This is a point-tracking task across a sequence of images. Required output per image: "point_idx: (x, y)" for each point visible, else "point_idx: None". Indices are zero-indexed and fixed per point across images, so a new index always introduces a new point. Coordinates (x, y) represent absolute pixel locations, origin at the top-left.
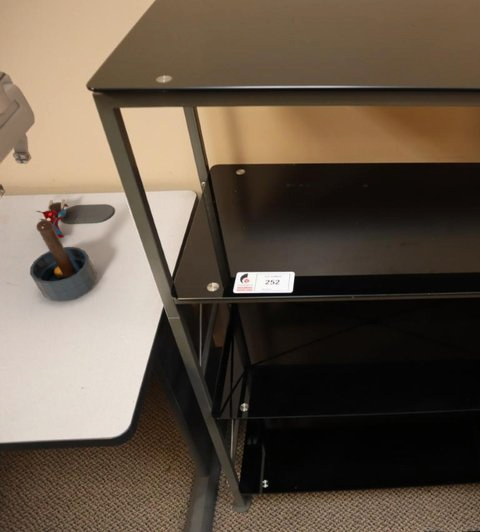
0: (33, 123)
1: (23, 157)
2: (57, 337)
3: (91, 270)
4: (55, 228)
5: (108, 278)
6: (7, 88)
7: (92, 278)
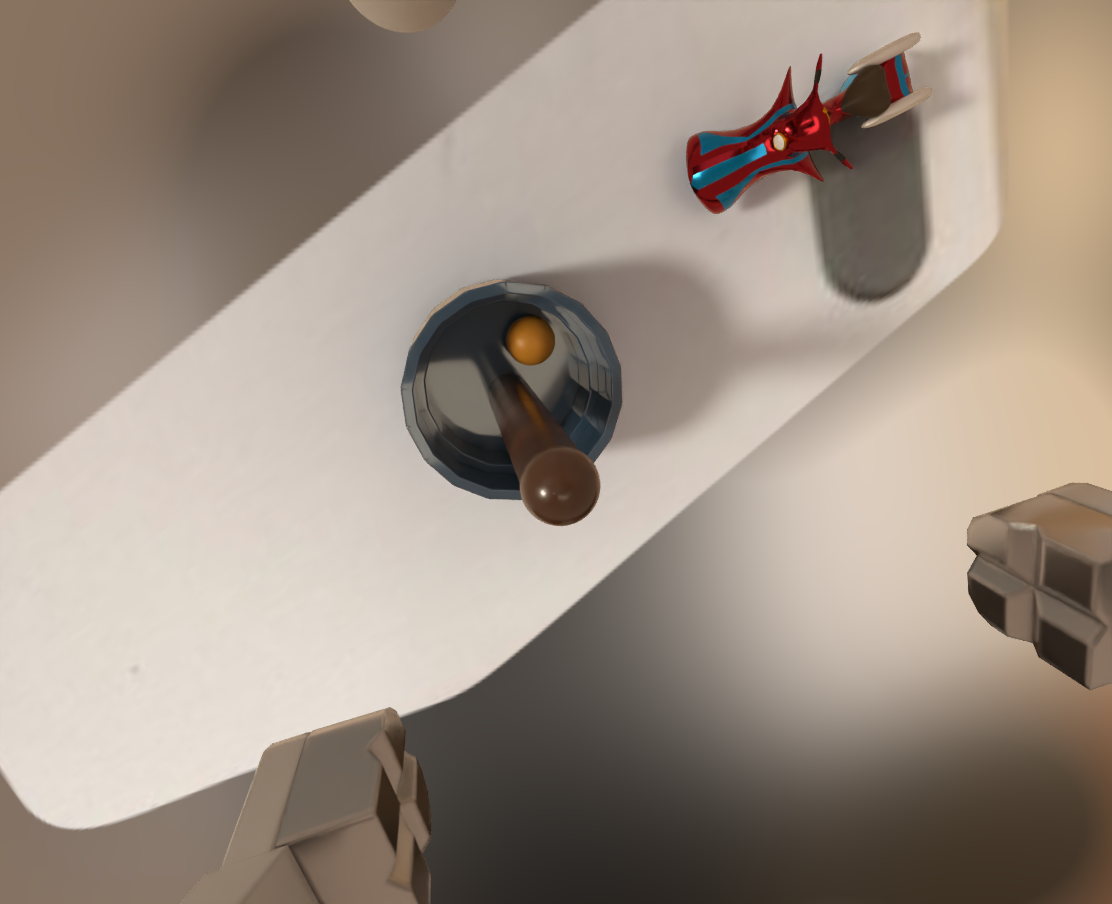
0: None
1: (1051, 646)
2: (274, 484)
3: None
4: (742, 182)
5: None
6: None
7: None
